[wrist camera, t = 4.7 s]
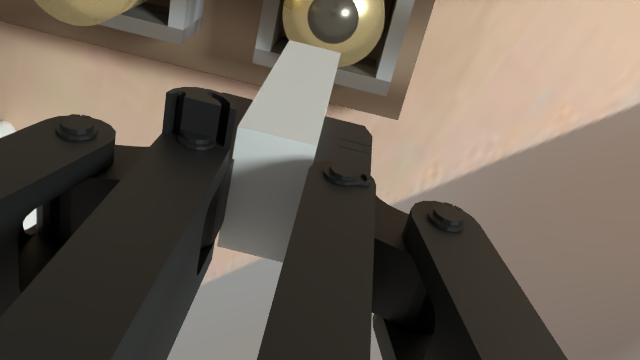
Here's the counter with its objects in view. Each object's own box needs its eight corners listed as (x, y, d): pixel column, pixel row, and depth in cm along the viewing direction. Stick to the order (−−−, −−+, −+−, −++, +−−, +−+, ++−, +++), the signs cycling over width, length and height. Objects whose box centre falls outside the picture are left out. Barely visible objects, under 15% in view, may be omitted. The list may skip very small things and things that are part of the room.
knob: (306, -58, 31) (293, -48, 26) (395, -36, 31) (397, -22, 26) (288, 31, 33) (273, 55, 28) (371, 52, 33) (369, 79, 28)
